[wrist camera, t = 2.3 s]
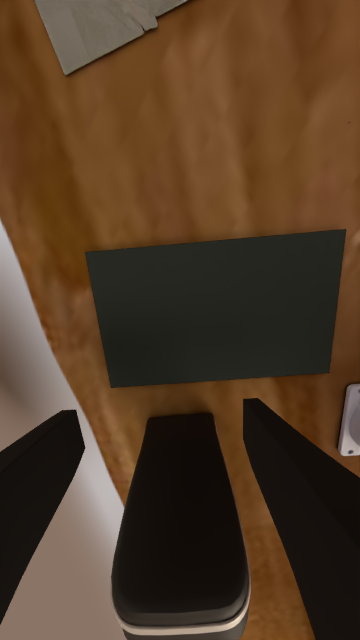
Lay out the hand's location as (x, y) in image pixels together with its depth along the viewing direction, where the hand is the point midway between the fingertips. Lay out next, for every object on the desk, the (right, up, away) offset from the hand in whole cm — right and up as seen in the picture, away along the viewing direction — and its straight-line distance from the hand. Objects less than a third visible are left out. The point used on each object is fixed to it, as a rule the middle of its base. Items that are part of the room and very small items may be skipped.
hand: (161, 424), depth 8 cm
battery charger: (+1, -7, +11) cm, 13 cm away
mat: (+4, +5, +8) cm, 10 cm away
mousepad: (0, +27, +3) cm, 27 cm away
